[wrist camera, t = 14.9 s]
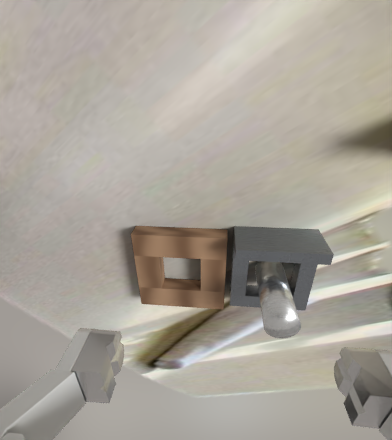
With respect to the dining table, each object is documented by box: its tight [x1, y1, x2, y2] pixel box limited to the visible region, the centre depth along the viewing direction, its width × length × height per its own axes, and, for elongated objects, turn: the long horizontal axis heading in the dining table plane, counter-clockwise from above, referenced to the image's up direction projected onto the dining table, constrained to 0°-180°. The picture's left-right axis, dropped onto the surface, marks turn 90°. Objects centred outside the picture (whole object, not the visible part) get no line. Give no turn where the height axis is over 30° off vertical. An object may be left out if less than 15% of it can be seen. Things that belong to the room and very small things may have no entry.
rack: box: [230, 226, 334, 310], centre depth 39 cm, size 12×14×6 cm
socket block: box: [131, 226, 227, 309], centre depth 42 cm, size 14×14×2 cm
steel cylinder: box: [255, 261, 301, 338], centre depth 37 cm, size 4×4×11 cm
